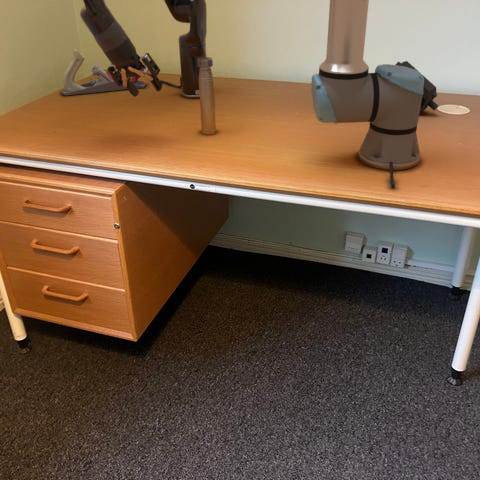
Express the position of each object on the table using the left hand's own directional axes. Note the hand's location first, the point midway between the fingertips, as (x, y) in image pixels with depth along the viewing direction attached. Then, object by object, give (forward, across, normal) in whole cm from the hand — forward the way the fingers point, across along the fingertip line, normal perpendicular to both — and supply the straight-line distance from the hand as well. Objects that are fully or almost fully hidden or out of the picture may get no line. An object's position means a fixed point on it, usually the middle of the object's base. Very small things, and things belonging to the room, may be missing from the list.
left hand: (148, 92), depth 148 cm
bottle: (+20, -8, -4) cm, 21 cm away
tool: (+49, -54, -38) cm, 82 cm away
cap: (+1, -14, -12) cm, 18 cm away
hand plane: (+13, +48, -31) cm, 58 cm away
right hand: (+9, -34, -50) cm, 61 cm away
